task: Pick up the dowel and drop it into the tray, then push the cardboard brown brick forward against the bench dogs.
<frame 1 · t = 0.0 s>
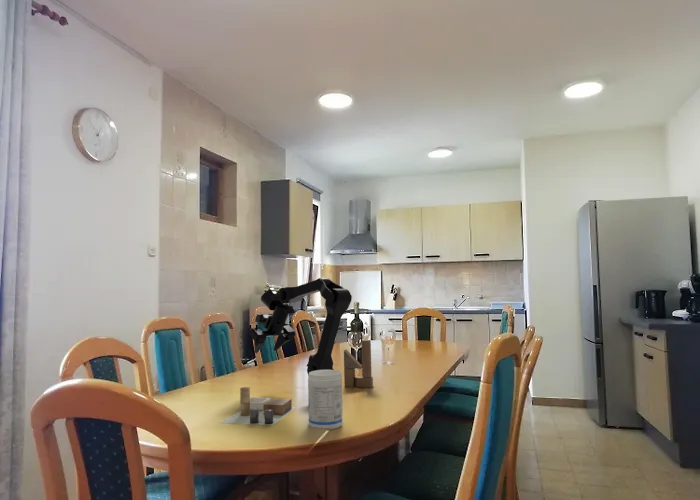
hand: (265, 351, 182), 15 cm above the table, tool tilted 35°, fingers open, 9 cm apart
dowel: (245, 415, 143), point 1 cm above the table, touching mat
cardboard brown brick: (277, 411, 146), point 1 cm above the table, touching mat
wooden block: (358, 387, 186), on the table
mat: (261, 417, 143), on the table
bench dogs: (261, 422, 133), resting on mat
tray: (256, 408, 151), resting on mat
supplement tub: (325, 426, 132), on the table
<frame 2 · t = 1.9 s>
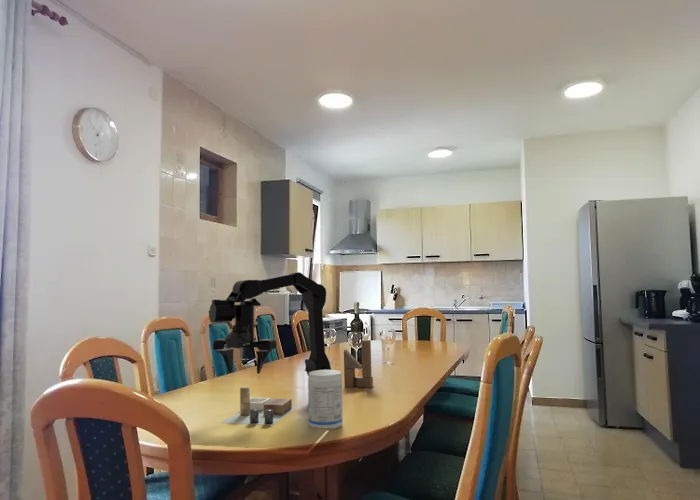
hand: (244, 373, 144), 13 cm above the table, tool pointing down, fingers open, 9 cm apart
nothing on the table moved.
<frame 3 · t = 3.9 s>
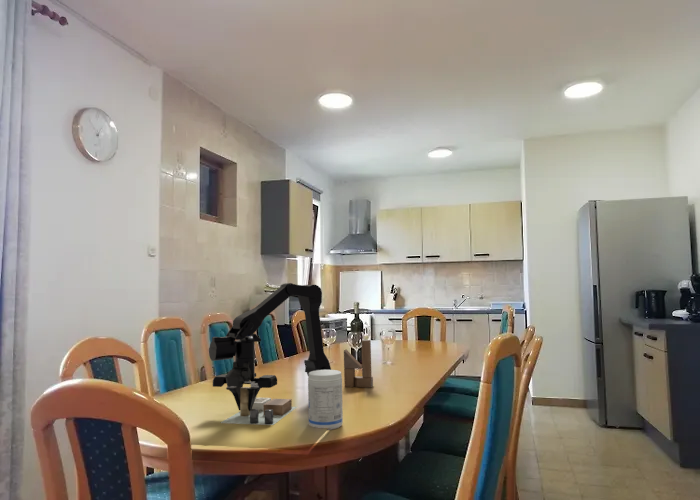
hand: (245, 410, 143), 2 cm above the table, tool pointing down, fingers closed on dowel, 3 cm apart
dowel: (245, 415, 143), point 1 cm above the table, touching gripper, mat
everything else where it was.
when the fingers open (5 cm above the table, at t = 6.9 s): dowel drops 2 cm, resting on tray.
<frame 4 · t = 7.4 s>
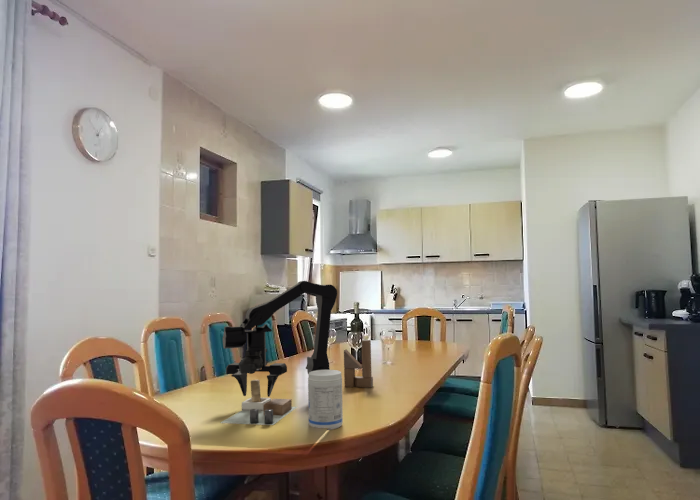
hand: (256, 396, 151), 4 cm above the table, tool pointing down, fingers open, 8 cm apart
dowel: (256, 405, 151), point 1 cm above the table, touching tray
everything else where it was.
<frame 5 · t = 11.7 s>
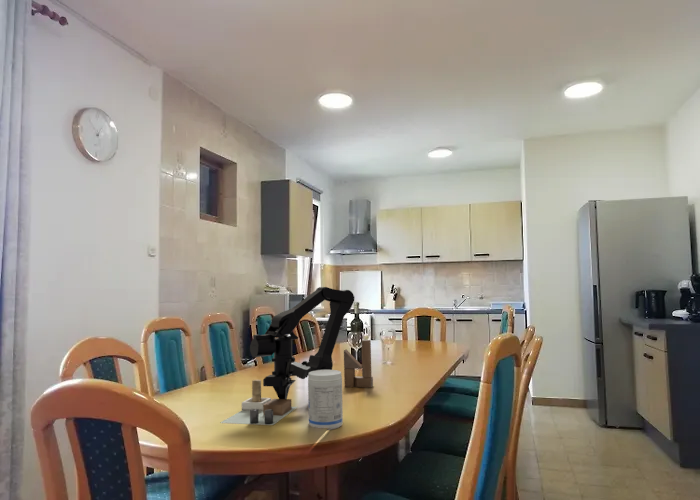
hand: (283, 404, 151), 2 cm above the table, tool pointing down, fingers closed
cardboard brown brick: (277, 411, 145), point 1 cm above the table, touching gripper, mat
everything else where it was.
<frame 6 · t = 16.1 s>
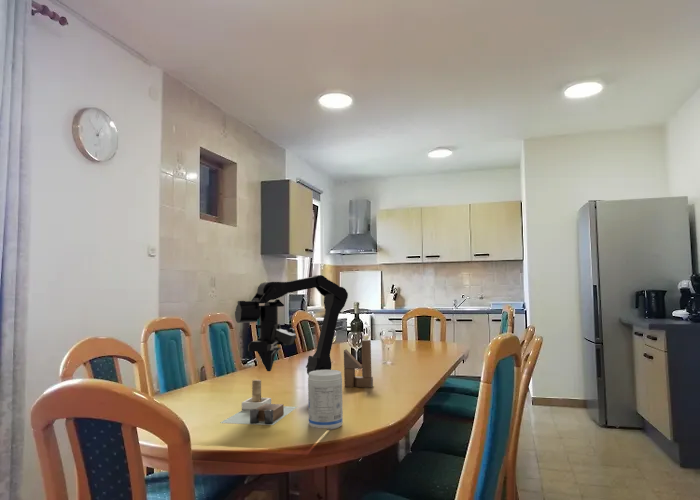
hand: (269, 371, 150), 12 cm above the table, tool pointing down, fingers closed
cardboard brown brick: (268, 417, 139), point 1 cm above the table, touching mat
everything else where it was.
at the end: dowel 0.0 cm off-centre on the tray, point 0.6 cm above the tray's base; cardboard brown brick 0.3 cm from the target spot, point 0.8 cm above the table; the gripper is holding nothing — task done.
